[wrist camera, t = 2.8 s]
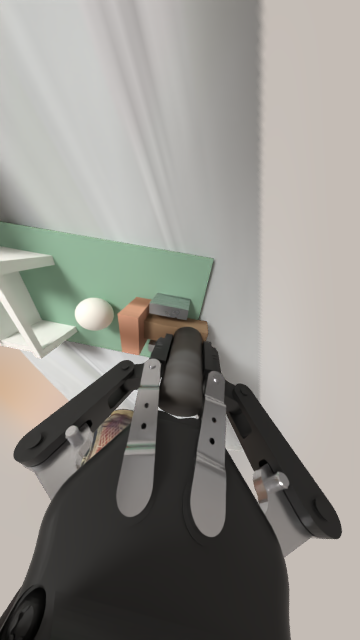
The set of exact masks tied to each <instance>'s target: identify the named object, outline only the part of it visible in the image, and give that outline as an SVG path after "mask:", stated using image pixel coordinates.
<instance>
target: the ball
mask: <svg viewBox="0 0 360 640" xmlns="http://www.w3.org/2000/svg"><path fill="white" fill-rule="evenodd" d="M75 318H76V320H77V322H78V323H79V325H80V326H82V327H83V328H85V329H88V330H92V331H97V330H102V329H104V328H106V327H108V326H109V325H110V324H111V322H112V321H113V318H114V311H113V308H112V307H111V305H110V304H109V303H108V302H107V301H105V300H103V299H100V298H88V299H85V300H83V301H81V302H80V303H79V304H78V305H77V307H76V309H75Z"/></svg>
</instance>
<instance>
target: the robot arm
mask: <svg viewBox="0 0 360 640" xmlns="http://www.w3.org/2000/svg"><path fill="white" fill-rule="evenodd" d="M172 340H173V335H172V334H167V333H166V336H165V338H162V337H160V338H159V339H158V340H157V342H156V344H155V346H154V349H153V351H152V353H151V356H150V358H149V360H147V361H146V362H145V363H143V364H134V363H133V362H132V361H129V360H124V361H122V362H120V363H118V364H117V365H116V366H114V367H113V368H112V369H111V370H109V371H108V372H107V373H105V374H104V375H103V376H101V377H100V378H99V379H98V380H96V381H95V382H94V383H92V384H91V385H90V386H88V387H87V388H86V389H84V390H83V391H82V392H81V393H79V394H78V395H77V396H75V397H74V398H73V399H71V400H70V401H69V402H68V403H66V404H65V405H64V406H62V407H61V408H60V409H58V410H57V411H56V412H54V413H53V414H52V415H51V416H49V417H48V418H47V419H45V420H44V421H43V422H41V423H40V424H39V425H38V426H36V427H35V428H34V429H32V430H31V431H30V432H28V433H27V434H26V435H25V436H24V437H23V438H22V439H21V440H20V441H19V443H18V444H17V446H16V448H15V450H14V459H15V460H16V461H18V462H19V463H21V464H22V465H23V466H24V467H25V468H27V469H29V470H31V471H33V472H35V474H36V476H37V478H38V479H39V481H40V483H41V484H42V486H43V488H44V489H45V491H46V493H47V494H48V496H49V498H50V499H51V503H50V505H49V507H48V508H47V511H46V513H45V515H44V518H43V520H42V523H41V527H40V530H39V535H38V539H37V543H36V547H35V551H34V554H33V558H32V561H31V564H30V566H29V569H28V572H27V575H26V577H25V580H24V582H23V585H22V587H21V590H20V592H19V594H18V596H17V598H16V601H15V603H14V605H13V607H12V609H11V611H10V613H9V614H8V616H7V618H6V620H5V622H4V624H3V626H2V627H1V629H0V640H291V638H290V626H289V582H288V574H287V568H286V564H285V560H284V557H286V556H287V555H288V554H289V553H291V552H292V551H294V550H295V549H296V548H297V547H299V546H300V545H301V544H303V543H304V542H306V541H307V540H308V539H310V538H322V539H338V538H340V536H341V533H342V529H341V524H340V520H339V518H338V515H337V514H336V511H335V510H334V508H333V506H332V505H331V503H330V502H329V501H328V499H327V498H326V496H325V495H324V493H323V492H322V491H321V489H320V488H319V486H318V485H317V483H316V482H315V481H314V479H313V478H312V476H311V475H310V474H309V472H308V471H307V469H306V468H305V467H304V465H303V464H302V462H301V461H300V460H299V458H298V457H297V455H296V454H295V452H294V451H293V449H292V448H291V447H290V445H289V444H288V442H287V441H286V440H285V438H284V437H283V435H282V434H281V432H280V431H279V430H278V428H277V427H276V426H275V424H274V423H273V421H272V420H271V418H270V417H269V415H268V414H267V413H266V411H265V410H264V408H263V407H262V405H261V404H260V403H259V401H258V400H257V398H256V397H255V396H254V394H253V393H252V391H251V390H250V389H249V388H248V387H247V386H246V385H244V384H237V385H236V386H235V385H233V384H231V383H229V382H227V381H226V380H225V379H224V377H223V375H222V374H221V370H220V363H219V357H218V352H217V350H216V349H215V348H213V347H211V342H208V341H203V344H202V353H203V404H202V406H201V408H200V410H199V412H198V415H196V418H184V419H177V418H175V417H174V416H172V415H170V414H168V413H166V412H164V411H159V410H158V400H159V382H160V379H161V377H162V375H163V372H164V368H165V365H166V361H167V358H168V354H169V350H170V347H171V343H172ZM137 389H138V393H137V398H136V403H135V407H134V412H133V417H132V422H131V423H130V424H129V425H128V426H127V427H125V428H124V429H123V430H122V431H121V432H120V433H119V434H118V435H116V436H115V437H114V438H113V439H112V440H111V441H110V442H108V443H107V444H106V445H105V446H104V447H103V448H102V449H101V450H99V451H98V452H97V453H96V454H95V455H94V456H93V457H91V458H90V459H89V460H88V461H87V462H86V463H85V464H84V465H82V466H81V463H82V460H83V457H84V455H85V454H86V452H87V451H88V449H89V448H90V446H91V444H92V442H93V433H94V432H95V430H96V429H97V428H98V427H99V426H100V425H101V424H102V423H103V422H104V421H105V420H106V419H107V418H108V417H109V416H110V415H111V414H112V412H113V411H114V410H115V409H116V408H117V407H118V406H119V405H120V404H121V403H122V402H123V401H124V400H125V399H126V398H127V397H128V396H129V395H130V393H131V392H132V391H133V390H137ZM226 414H227V416H228V418H229V420H230V423H231V425H232V427H233V429H234V431H235V433H236V435H237V437H238V439H239V441H240V443H241V445H242V447H243V449H244V451H245V454H246V456H247V458H248V460H249V462H250V464H251V466H252V468H253V470H254V474H253V482H254V487H255V490H256V492H257V495H258V500H259V504H258V502H257V500H256V499H255V497H254V495H253V494H252V492H251V490H250V489H249V487H248V485H247V483H246V482H245V480H244V478H243V477H242V475H241V473H240V472H239V470H238V468H237V467H236V465H235V463H234V462H233V460H232V458H231V456H230V455H229V453H228V451H227V450H226V448H225V435H226Z"/></svg>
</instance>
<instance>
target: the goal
mask: <svg viewBox="0 0 360 640" xmlns="http://www.w3.org/2000/svg"><path fill="white" fill-rule="evenodd" d="M51 265H55V263H54V260H53V257H52V256H51V255H46V254H40V253H35V252H29V251H24V250H18V249H13V248H7V247H1V246H0V345H1V346H6V347H11V348H15V349H20V350H25V351H30V352H32V353H33V354H34V356H35V357H36V358H41V359H42V358H43V357H44V356H46V355H47V354H48V353H50V352H51V351H52V350H54V349H55V348H56V347H58V346H59V345H60V344H62V343H63V342H64V341H66V340H67V339H68V338H70V337H71V336H72V335H74V334H75V333H76V332H77V329H76V327H75V326H70V325H65V324H60V323H55V322H50V321H45V320H42V319H41V317H40V315H39V313H38V311H37V309H36V307H35V305H34V302H33V300H32V298H31V296H30V294H29V292H28V290H27V288H26V286H25V284H24V282H23V280H22V278H21V275H20V273H19V271H22V270H28V269H34V268H40V267H45V266H51Z"/></svg>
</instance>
